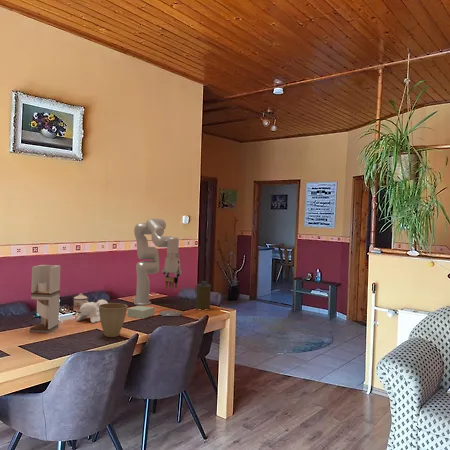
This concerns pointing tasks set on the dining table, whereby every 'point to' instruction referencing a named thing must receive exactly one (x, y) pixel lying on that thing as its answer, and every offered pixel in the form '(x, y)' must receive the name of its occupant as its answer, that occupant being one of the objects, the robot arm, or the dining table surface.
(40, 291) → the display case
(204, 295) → the canister
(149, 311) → the block
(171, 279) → the stool
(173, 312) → the trivet
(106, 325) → the plant pot
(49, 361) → the dining table surface
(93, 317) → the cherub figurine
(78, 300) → the lidded ceramic jar
